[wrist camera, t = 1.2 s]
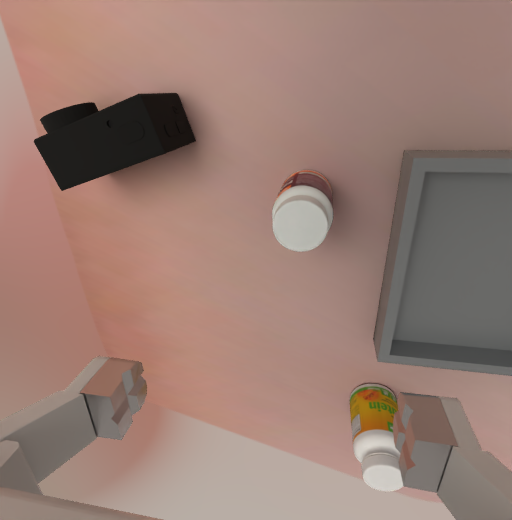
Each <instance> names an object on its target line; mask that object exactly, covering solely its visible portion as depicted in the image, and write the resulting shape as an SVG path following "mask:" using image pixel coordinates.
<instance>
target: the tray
mask: <svg viewBox="0 0 512 520" xmlns="http://www.w3.org/2000/svg"><path fill="white" fill-rule="evenodd" d="M373 340H374V345H375V351H376V356H377V361H378V362H386V363H395V364H405V365H414V366H424V367H433V368H443V369H452V370H461V371H471V372H480V373H490V374H499V375H508V376H512V151H404V154H403V161H402V167H401V173H400V179H399V185H398V191H397V197H396V203H395V210H394V216H393V222H392V228H391V234H390V240H389V246H388V252H387V258H386V265H385V271H384V277H383V283H382V289H381V295H380V301H379V307H378V314H377V320H376V326H375V332H374V338H373Z"/></svg>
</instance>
